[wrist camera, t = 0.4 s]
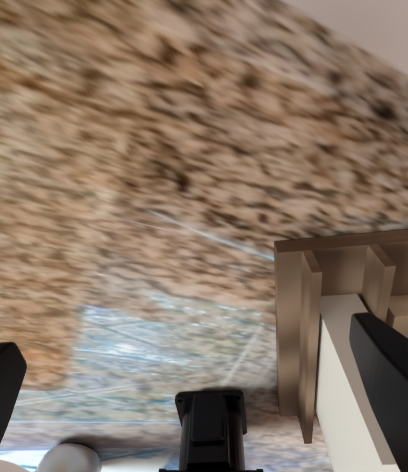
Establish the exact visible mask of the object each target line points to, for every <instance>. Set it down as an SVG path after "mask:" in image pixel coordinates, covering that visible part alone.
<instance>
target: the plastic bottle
mask: <svg viewBox="0 0 408 472" xmlns="http://www.w3.org/2000/svg"><path fill="white" fill-rule="evenodd" d="M101 468H102V466H101V462H100V458H99V456H98V454H97V453H96V452H95V451H93V450H92V449H90V448H88V447H86V446H83V445H79V444H72V443H65V444H60V445H57V446H55V447H53V448H52V449H51V450H50V451H48V452H47V453H46V454H45V455H44V457H43V459H42V460H41V462H40V464H39V465H38V467H37V469H36V471H35V472H101Z"/></svg>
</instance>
